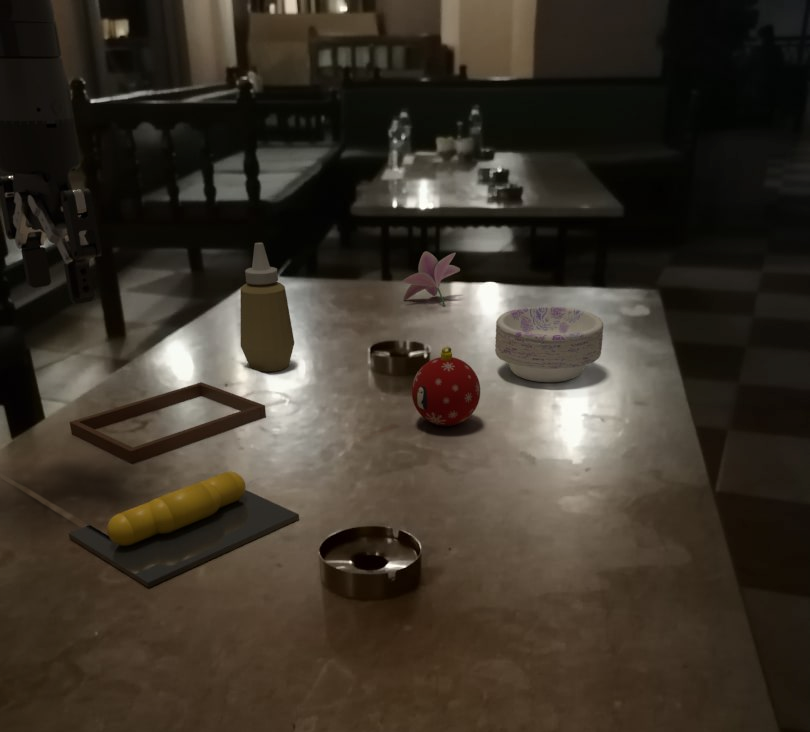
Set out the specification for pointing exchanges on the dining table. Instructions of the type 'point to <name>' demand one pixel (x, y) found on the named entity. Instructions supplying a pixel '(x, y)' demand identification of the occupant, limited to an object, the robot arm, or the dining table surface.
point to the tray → (246, 414)
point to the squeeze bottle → (265, 317)
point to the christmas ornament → (446, 390)
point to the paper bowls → (548, 342)
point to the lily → (430, 275)
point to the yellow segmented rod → (176, 509)
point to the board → (189, 540)
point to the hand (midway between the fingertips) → (60, 293)
